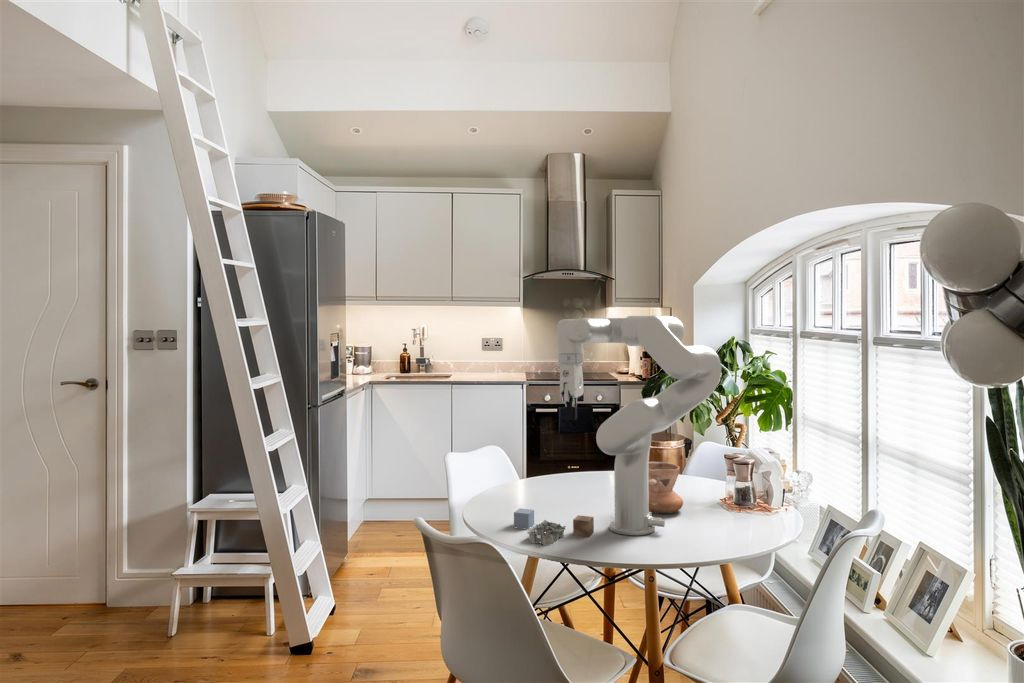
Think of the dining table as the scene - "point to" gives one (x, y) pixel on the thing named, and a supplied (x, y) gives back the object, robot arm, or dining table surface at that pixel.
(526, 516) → the slate-blue block
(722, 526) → the dining table surface
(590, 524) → the walnut block
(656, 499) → the ceramic jug
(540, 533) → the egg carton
